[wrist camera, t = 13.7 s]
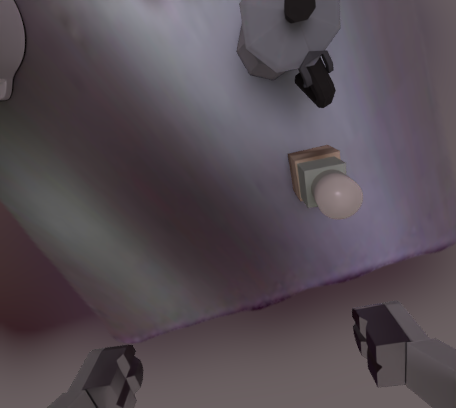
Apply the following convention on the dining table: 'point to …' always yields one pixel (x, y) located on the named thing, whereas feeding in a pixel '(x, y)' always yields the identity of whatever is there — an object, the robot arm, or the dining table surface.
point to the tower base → (308, 156)
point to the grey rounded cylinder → (336, 194)
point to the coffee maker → (291, 42)
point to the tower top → (311, 170)
